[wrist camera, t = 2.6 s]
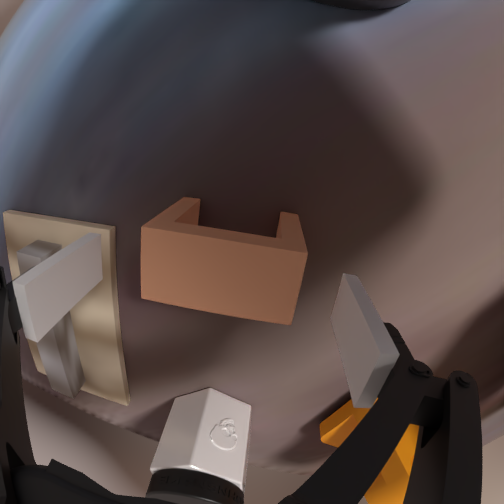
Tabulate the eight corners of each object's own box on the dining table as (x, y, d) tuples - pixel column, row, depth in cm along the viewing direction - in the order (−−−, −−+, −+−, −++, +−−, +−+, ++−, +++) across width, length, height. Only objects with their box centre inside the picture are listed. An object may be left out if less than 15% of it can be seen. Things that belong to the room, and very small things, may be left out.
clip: (184, 196, 21) (141, 226, 14) (297, 214, 21) (307, 253, 14) (180, 249, 23) (141, 298, 16) (287, 267, 23) (290, 325, 16)
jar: (271, 410, 28) (265, 515, 17) (233, 444, 31) (220, 531, 20) (190, 374, 27) (154, 481, 16) (163, 414, 30) (131, 501, 19)
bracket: (314, 420, 29) (321, 519, 17) (364, 381, 26) (390, 487, 15) (378, 443, 30) (395, 524, 19) (423, 410, 28) (453, 493, 17)
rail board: (9, 209, 23) (-19, 221, 19) (115, 226, 22) (88, 243, 19) (41, 366, 30) (25, 385, 26) (130, 399, 30) (118, 425, 26)
